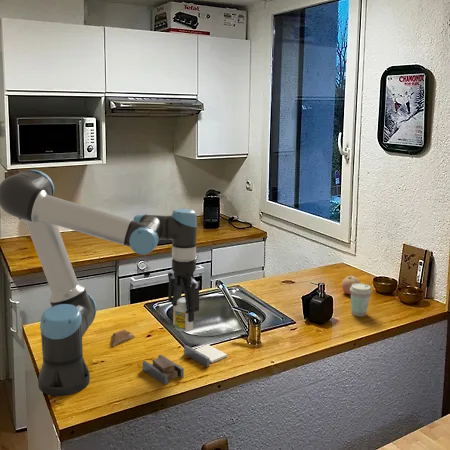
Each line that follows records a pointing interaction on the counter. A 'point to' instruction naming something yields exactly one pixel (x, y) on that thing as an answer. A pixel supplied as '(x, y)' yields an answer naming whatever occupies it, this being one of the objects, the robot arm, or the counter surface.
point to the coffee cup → (360, 299)
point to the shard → (121, 337)
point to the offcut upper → (163, 365)
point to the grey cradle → (175, 365)
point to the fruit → (349, 283)
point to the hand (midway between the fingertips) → (183, 326)
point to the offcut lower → (172, 374)
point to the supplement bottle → (180, 314)
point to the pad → (211, 353)
